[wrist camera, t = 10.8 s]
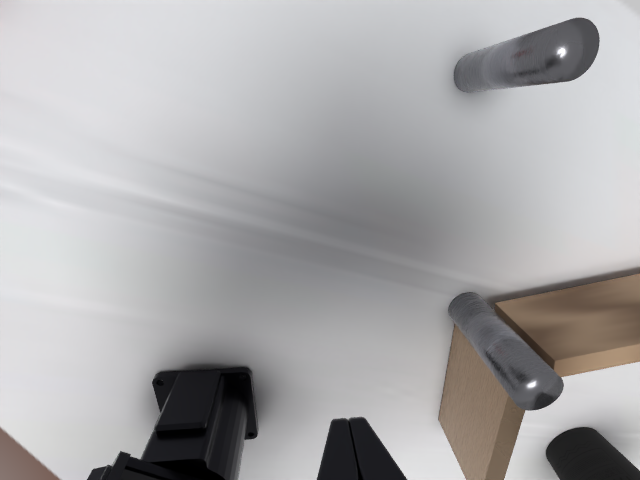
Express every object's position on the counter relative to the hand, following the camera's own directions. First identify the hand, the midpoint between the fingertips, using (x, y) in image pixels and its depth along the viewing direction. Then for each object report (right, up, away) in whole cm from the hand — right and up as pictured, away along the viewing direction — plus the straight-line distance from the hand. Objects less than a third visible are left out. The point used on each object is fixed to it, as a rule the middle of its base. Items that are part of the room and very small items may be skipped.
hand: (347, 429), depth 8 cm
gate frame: (+8, +2, +13) cm, 15 cm away
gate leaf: (+17, +1, +13) cm, 21 cm away
